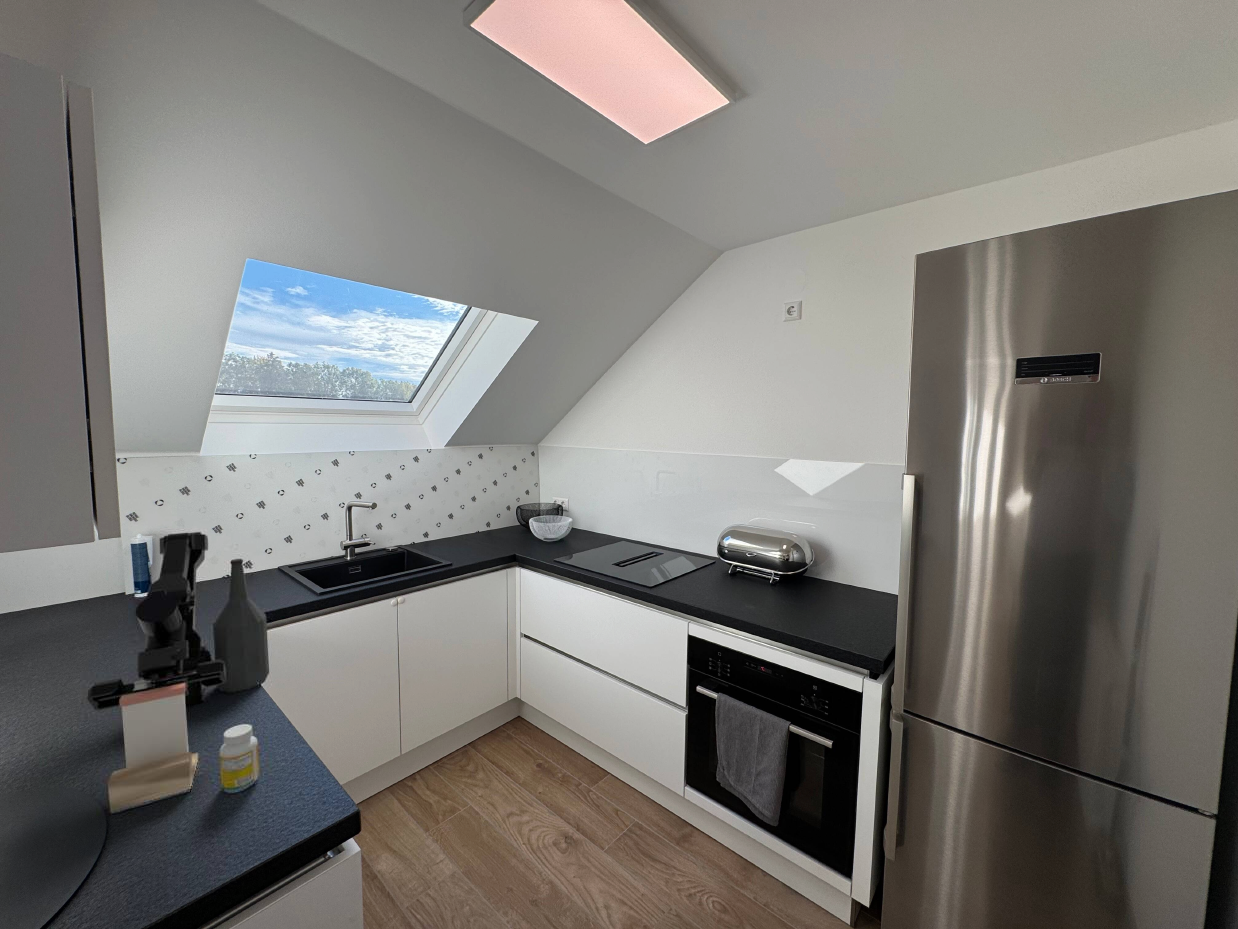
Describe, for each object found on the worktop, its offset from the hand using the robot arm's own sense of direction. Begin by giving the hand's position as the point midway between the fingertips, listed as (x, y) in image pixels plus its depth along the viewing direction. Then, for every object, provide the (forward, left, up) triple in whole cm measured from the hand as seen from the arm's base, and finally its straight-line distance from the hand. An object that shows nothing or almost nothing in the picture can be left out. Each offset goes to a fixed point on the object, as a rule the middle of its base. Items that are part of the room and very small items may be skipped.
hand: (157, 731), depth 93 cm
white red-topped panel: (+1, 0, -6) cm, 7 cm away
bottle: (-33, +10, -9) cm, 36 cm away
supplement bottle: (+10, +12, -9) cm, 18 cm away
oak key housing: (+3, 0, -8) cm, 9 cm away
